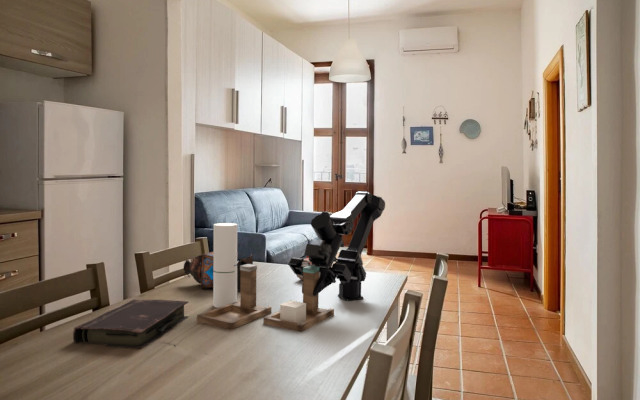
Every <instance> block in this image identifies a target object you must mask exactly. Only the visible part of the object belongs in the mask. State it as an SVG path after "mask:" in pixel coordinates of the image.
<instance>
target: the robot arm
mask: <svg viewBox="0 0 640 400" xmlns="http://www.w3.org/2000/svg"><path fill="white" fill-rule="evenodd" d="M385 208H386V202H385V200H384V199H383V198H382V197H381V196H378V195H375V194H372V193H371V192H370V191H356V192H355V194H354V196H353V197H352V198H351V200H350V201H349V202H348V203H347V204H346V206H344V207H343V209H342V210H339V211H337V212H334V213H332V214H331V215H330V213H329V212H328V211H321V214H318V215H316V216H315V217H313V218H312V219H311V222H310V226H311V228H312V229H313V231H314V233H315V234H316V236H317V239H318V240H320V241H321V242H320V245H318V244H311V243H306V245H305V249H304V254H303V255H304V256H306V257H307V256H308V257H309V261H310V262H312V264H310V263H307V262H305V261H304V259H305V258H302V257H301V258H299V257H295V256H294V257H290V259H289V261H288V266H289V268H290V269H291V270H292V272H293V273H294V275H296V276H297V275H301V276H303V268H304V267H307V266H315V267H319V273H320V278H319V280H318V282H317V284H316V286H315V288H314V291H313V295H314V296H316V295H317V294H318V293H321V292H322V291H323V290H325V288H327V287H328V286H330V285H331V284H336V283H337V280H336V279H338V280H339V281H340V283H339V284H338V294H337V296H338V297H339V298H341V299H343V300H345V301H353V300H356V301H357V300H361V299H362V300H363V299H364V296H362V282H365V280H366V277H367V271H366V269H365V268H364V266H363V265H364V261H363V259H362V253H363V250H364V248H365V246H366V242H367V240H368V238H369V235H370V232H371V229H372V228H373V224H374V222H375V221H376V220H377V219H379V218H380V217H381V216H382V214H383V212H384V210H385ZM358 216H360V217H359V219H358V222H357V224H356V227H355V229H354V226H355V225H354V221H355V220H356V218H357V217H358ZM353 229H354V231H353V234H352V236H351V240H350V242H349V244H348V247H347V249H340V248H344V247H345V243H344V240H343V237H341V235H342V236H348V235H350V234H351V232H352V230H353ZM339 250H340V251H339ZM337 255H338V256H337ZM301 286H302V287H301V293H302V294H303V282H302V283H301Z"/></svg>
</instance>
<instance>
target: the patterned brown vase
mask: <svg viewBox="0 0 640 400" xmlns="http://www.w3.org/2000/svg"><path fill="white" fill-rule="evenodd" d="M253 257H254V256H253V255H252V254H250V256H248V257H245V258H238V257H237V292H240V284H241V270H240V266H242V265H245V264H252V265H254V264H253V263H254V258H253ZM213 265H214V251H210V252H206V253H202V254H199V255H197V256H196V257H194V258H193V259H192V261H190V260H189V259H185V262H184V264H183V271H184V274H185V275H187V277H188V278H189V279H190V277H191V276H192V278H193V279H194V280H195V282H197V283H198V284H200V287H199V289H200V290H202V289H203V290H204V289H205V290H206V289H213V271H214V270H213ZM189 274H190V275H191V276H190V275H189Z"/></svg>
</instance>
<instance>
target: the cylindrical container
mask: <svg viewBox="0 0 640 400" xmlns="http://www.w3.org/2000/svg"><path fill="white" fill-rule="evenodd" d="M213 252H214V265H213V270H214V271H213V288H212V290H213V297H212V298H213V299H212V300H213V302H212V303H213V305H212V306H213V307H215V309H216V308H219V307H222V306H225V305H228V304H230V303H233V302H236V301H238V289H237V263H238V262H237V258H238V223H233V222H221V223H219V222H218V223H213Z"/></svg>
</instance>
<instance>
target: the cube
mask: <svg viewBox="0 0 640 400" xmlns="http://www.w3.org/2000/svg"><path fill="white" fill-rule="evenodd" d="M279 306H280V308H279V311H280V319H281V320H286V321H290V322H295V323H302V322H304V321H306V303H303V301H302V302H301V301H297V300H296V301H295V300H292V299H291V300H289V301H286V302H283V303H281V304H280V305H279Z"/></svg>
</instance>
